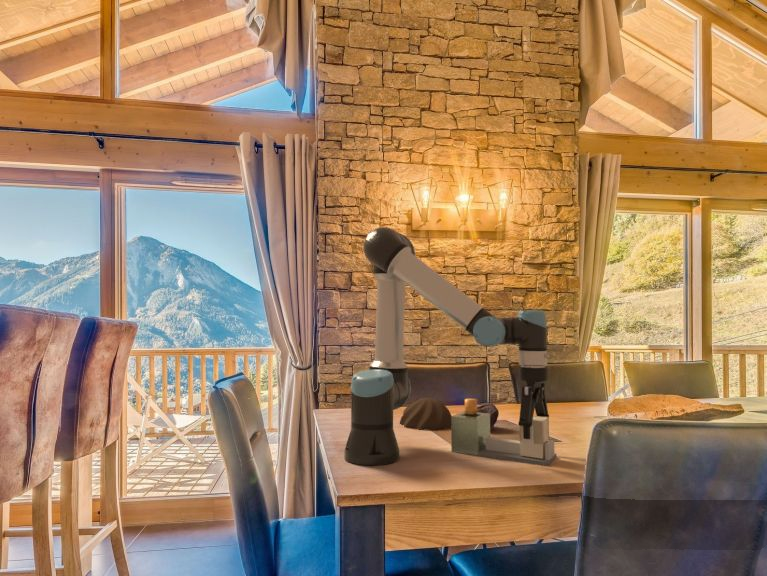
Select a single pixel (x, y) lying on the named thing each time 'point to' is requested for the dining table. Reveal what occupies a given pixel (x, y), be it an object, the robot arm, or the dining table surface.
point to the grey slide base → (515, 451)
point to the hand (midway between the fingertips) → (534, 446)
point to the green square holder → (469, 432)
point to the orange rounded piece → (470, 406)
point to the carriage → (537, 437)
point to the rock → (489, 412)
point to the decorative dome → (426, 415)
